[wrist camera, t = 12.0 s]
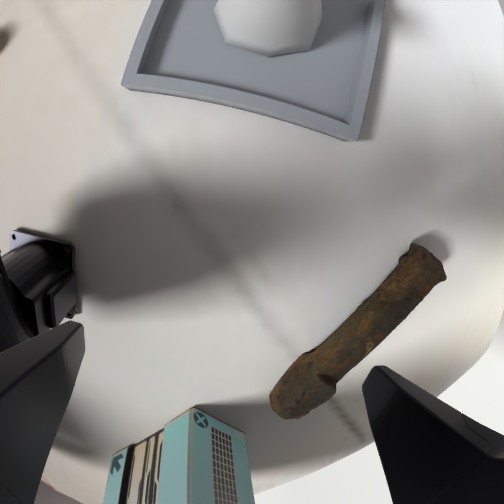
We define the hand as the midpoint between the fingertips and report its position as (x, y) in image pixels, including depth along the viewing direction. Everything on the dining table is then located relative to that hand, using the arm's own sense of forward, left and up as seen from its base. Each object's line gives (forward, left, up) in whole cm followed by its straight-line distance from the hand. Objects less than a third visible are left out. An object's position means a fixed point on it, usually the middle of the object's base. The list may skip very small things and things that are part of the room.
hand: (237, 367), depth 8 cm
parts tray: (-1, +16, -13) cm, 21 cm away
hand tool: (+12, -6, -13) cm, 19 cm away
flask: (-1, +16, -12) cm, 20 cm away
